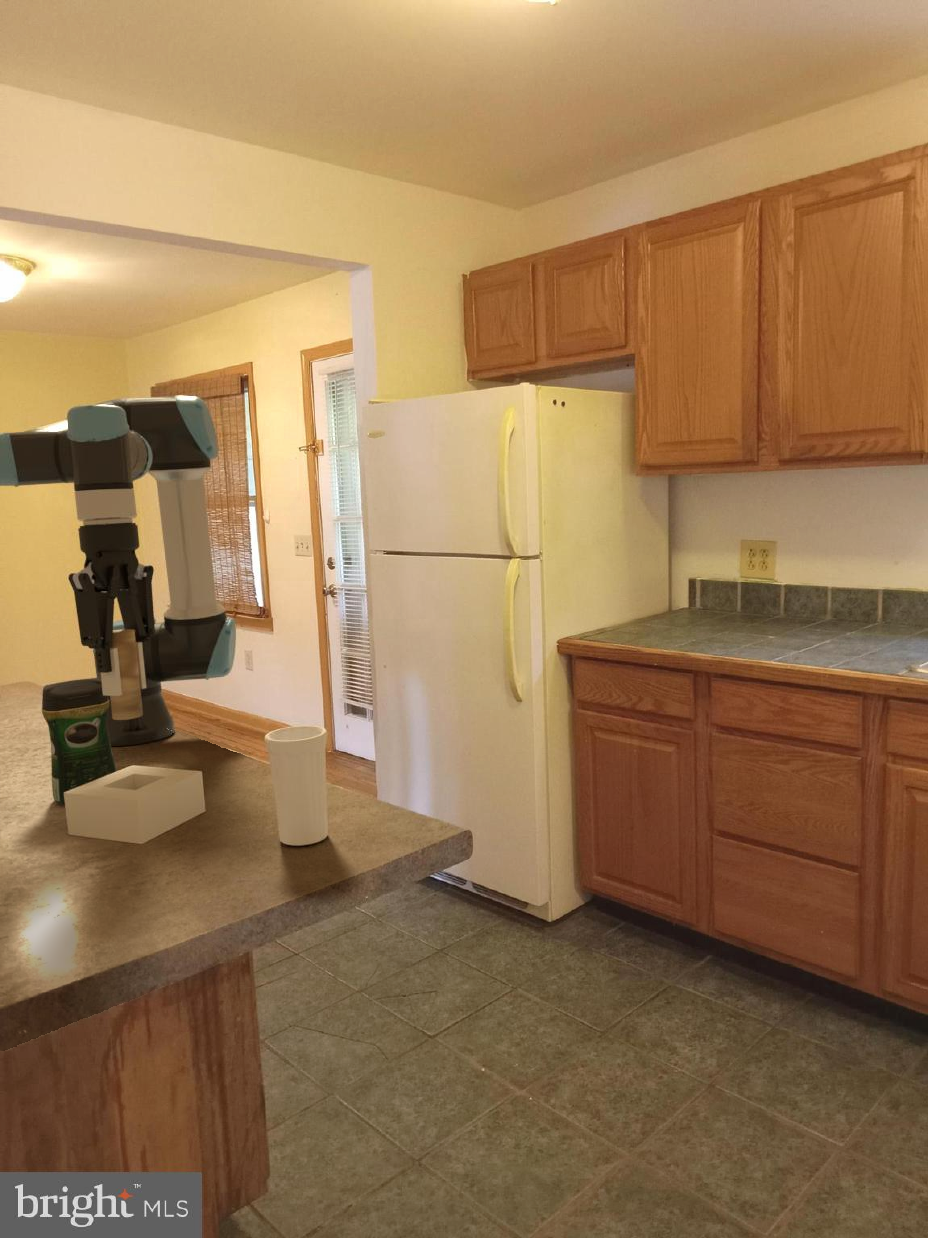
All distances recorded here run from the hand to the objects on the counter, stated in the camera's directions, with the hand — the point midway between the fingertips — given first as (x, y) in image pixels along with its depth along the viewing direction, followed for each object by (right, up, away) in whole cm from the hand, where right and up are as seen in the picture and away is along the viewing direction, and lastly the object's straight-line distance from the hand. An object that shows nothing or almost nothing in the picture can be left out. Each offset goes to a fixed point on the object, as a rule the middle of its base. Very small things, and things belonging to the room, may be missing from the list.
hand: (125, 691), depth 126 cm
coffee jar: (-12, -18, +16) cm, 27 cm away
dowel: (0, -4, 0) cm, 4 cm away
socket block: (+1, -19, +3) cm, 19 cm away
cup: (+26, -19, -7) cm, 33 cm away
